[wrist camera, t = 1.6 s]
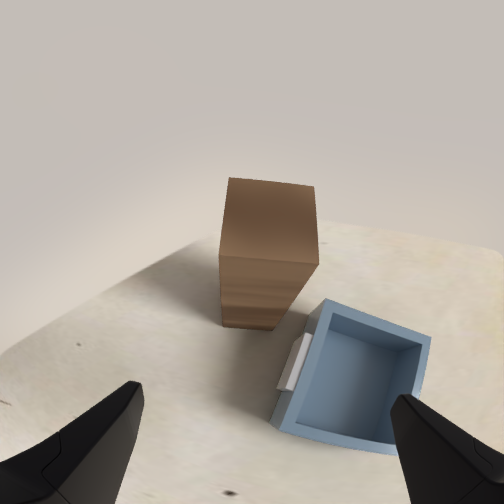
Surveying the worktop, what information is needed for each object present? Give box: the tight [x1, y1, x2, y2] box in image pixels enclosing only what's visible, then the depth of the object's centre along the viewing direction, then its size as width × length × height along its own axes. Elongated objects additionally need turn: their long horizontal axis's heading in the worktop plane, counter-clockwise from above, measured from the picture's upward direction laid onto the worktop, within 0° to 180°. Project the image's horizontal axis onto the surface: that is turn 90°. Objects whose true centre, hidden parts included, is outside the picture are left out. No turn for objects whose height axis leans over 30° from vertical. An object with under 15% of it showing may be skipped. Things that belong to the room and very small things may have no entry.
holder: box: [269, 298, 431, 456], centre depth 19 cm, size 10×10×4 cm
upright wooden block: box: [219, 177, 319, 331], centre depth 18 cm, size 4×4×13 cm
